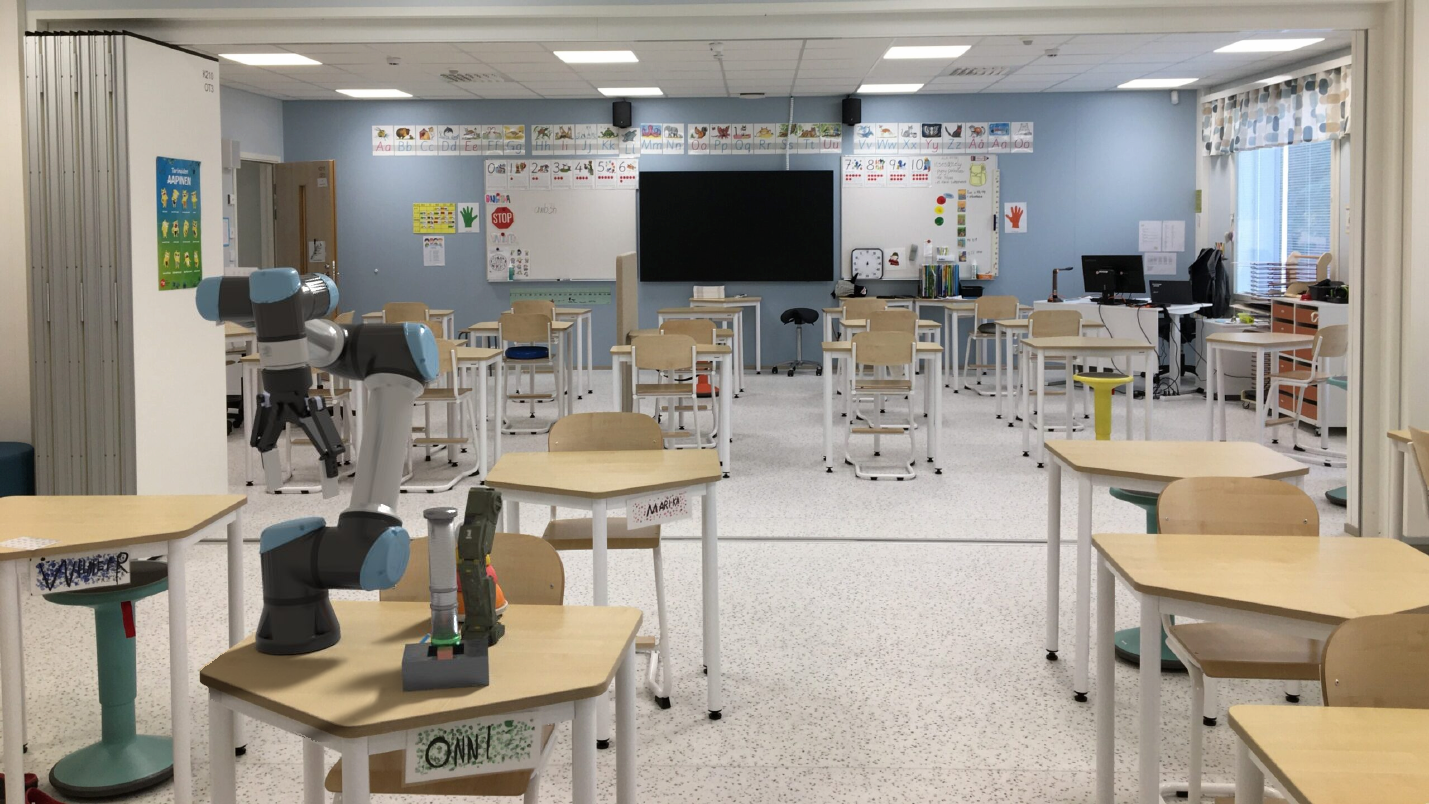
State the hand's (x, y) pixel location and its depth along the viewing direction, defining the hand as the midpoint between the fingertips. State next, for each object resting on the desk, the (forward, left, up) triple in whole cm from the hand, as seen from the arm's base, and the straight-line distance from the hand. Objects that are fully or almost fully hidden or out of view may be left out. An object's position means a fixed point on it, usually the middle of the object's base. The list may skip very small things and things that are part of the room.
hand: (302, 493), depth 189 cm
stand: (0, +22, -33) cm, 40 cm away
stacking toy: (-37, +26, -33) cm, 56 cm away
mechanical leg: (-20, +28, -33) cm, 48 cm away
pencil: (-18, +16, -34) cm, 41 cm away
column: (0, +22, -27) cm, 35 cm away
